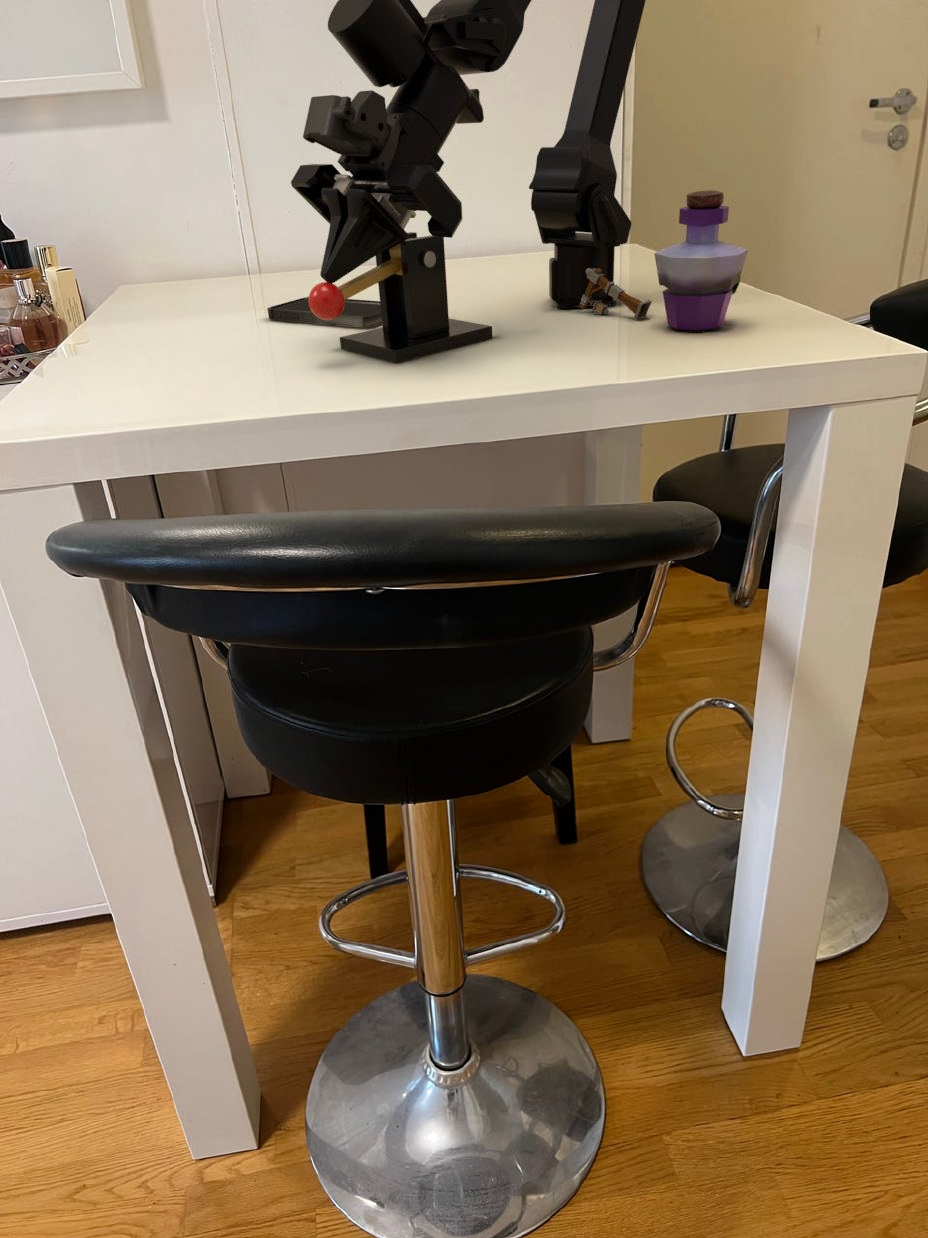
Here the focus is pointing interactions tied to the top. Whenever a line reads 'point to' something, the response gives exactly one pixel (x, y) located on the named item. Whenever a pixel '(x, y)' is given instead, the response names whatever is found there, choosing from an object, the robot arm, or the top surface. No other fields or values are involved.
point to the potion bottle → (700, 267)
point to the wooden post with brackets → (615, 291)
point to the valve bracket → (415, 308)
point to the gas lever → (351, 287)
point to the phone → (352, 316)
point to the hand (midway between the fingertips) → (326, 279)
